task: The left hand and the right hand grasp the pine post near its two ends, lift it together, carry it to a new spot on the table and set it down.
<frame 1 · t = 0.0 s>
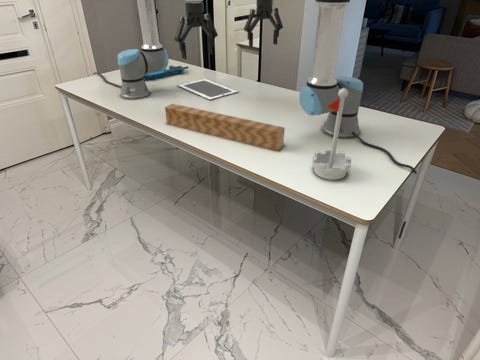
left hand: (197, 56, 149), 28 cm above the table, tool pointing down, fingers open, 13 cm apart
right hand: (263, 45, 167), 28 cm above the table, tool pointing down, fingers open, 13 cm apart
flag stand: (329, 171, 121), on the table
post: (221, 133, 147), on the table
submachine gun: (161, 73, 226), on the table
tablet: (207, 89, 198), on the table
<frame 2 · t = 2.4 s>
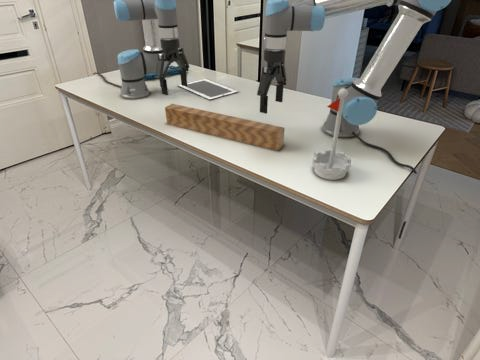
left hand: (175, 90, 148), 16 cm above the table, tool pointing down, fingers open, 13 cm apart
right hand: (271, 107, 130), 16 cm above the table, tool pointing down, fingers open, 13 cm apart
nothing on the table moved.
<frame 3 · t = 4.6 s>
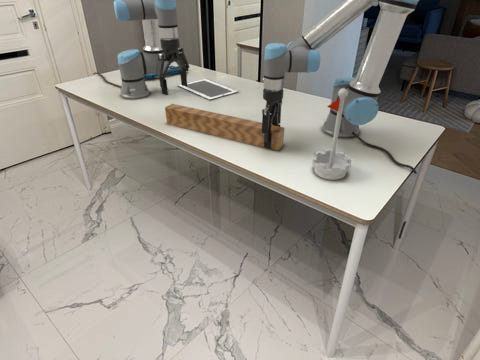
left hand: (175, 90, 148), 16 cm above the table, tool pointing down, fingers open, 13 cm apart
right hand: (270, 144, 138), 1 cm above the table, tool pointing down, fingers closed on post, 5 cm apart
post: (221, 133, 147), on the table, touching right hand
everything else where it was.
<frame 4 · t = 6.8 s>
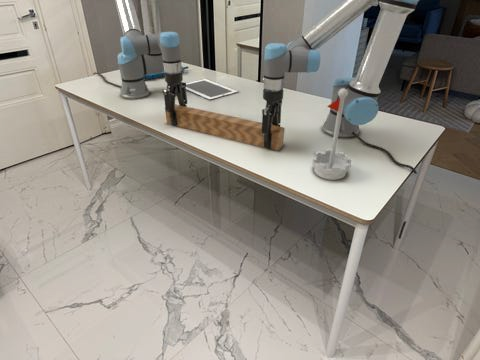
left hand: (178, 122, 156), 1 cm above the table, tool pointing down, fingers closed on post, 5 cm apart
right hand: (270, 144, 138), 1 cm above the table, tool pointing down, fingers closed on post, 5 cm apart
post: (221, 133, 147), on the table, touching right hand, left hand
everything else where it was.
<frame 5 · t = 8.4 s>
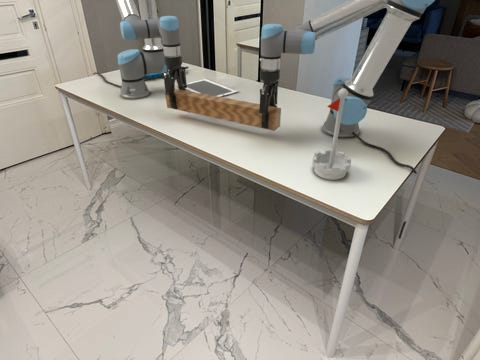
left hand: (178, 106, 160), 5 cm above the table, tool pointing down, fingers closed on post, 5 cm apart
right hand: (267, 125, 141), 6 cm above the table, tool pointing down, fingers closed on post, 6 cm apart
post: (220, 116, 151), point 5 cm above the table, touching right hand, left hand
everything else where it was.
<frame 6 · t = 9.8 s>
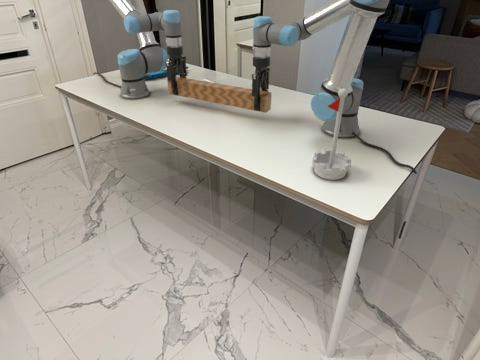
left hand: (179, 92, 177), 5 cm above the table, tool pointing down, fingers closed on post, 5 cm apart
right hand: (259, 108, 158), 6 cm above the table, tool pointing down, fingers closed on post, 5 cm apart
post: (217, 101, 167), point 5 cm above the table, touching right hand, left hand
everything else where it was.
when the left hand's fingers open (2 cm above the table, at t = 10.5 s): post drops 1 cm, on the table.
when the right hand's fingers open (2 cm above the table, at t = 10.5 s): post drops 1 cm, on the table.
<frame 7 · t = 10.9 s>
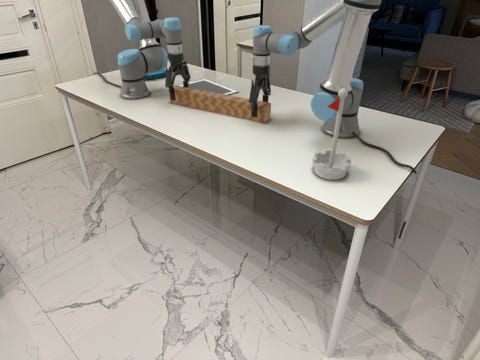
left hand: (179, 96, 178), 3 cm above the table, tool pointing down, fingers open, 11 cm apart
right hand: (259, 112, 159), 3 cm above the table, tool pointing down, fingers open, 11 cm apart
post: (217, 110, 170), on the table
everything else where it was.
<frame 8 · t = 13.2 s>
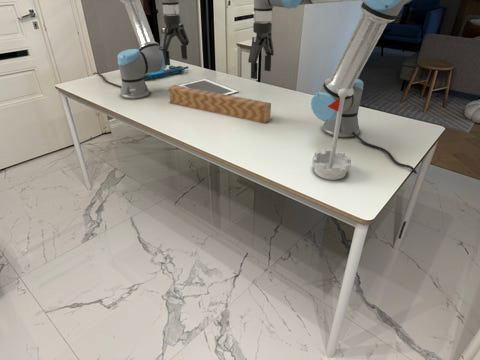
left hand: (176, 61, 168), 21 cm above the table, tool pointing down, fingers open, 13 cm apart
right hand: (261, 74, 149), 21 cm above the table, tool pointing down, fingers open, 13 cm apart
nothing on the table moved.
at the end: post inside the target area (0.1 cm from its centre), on the table; post tilted 0°; post never tilted more than 1° during the clip; both hands held the post at the same time; the left hand is holding nothing; the right hand is holding nothing; post at rest at the end (0.0 cm/s) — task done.
